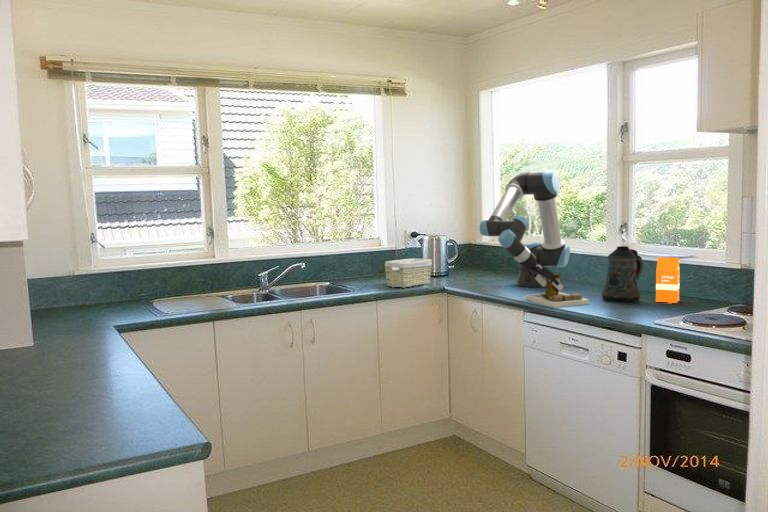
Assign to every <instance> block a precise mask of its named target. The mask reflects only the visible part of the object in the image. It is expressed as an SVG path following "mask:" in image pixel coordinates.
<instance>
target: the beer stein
mask: <svg viewBox="0 0 768 512" xmlns="http://www.w3.org/2000/svg"><path fill="white" fill-rule="evenodd" d="M607 260H608V266H607V273H606V279H605V281H604V282H605V284H604V287H603V289H602V291H601V296H602V300H603V301H604V302H607V303H619V304H620V303H621V304H622V303H623V304H626V303H633V304H636V303H635V302H638V301H639V302H640V297H641V293H640V291H639V290H640V289H639V287H638V286H639V285H638V280H639V279H640V277H641V275H642V273H643V270H644V261H643V259H642V256H640V255H638V251H637V250H636V249H632V248H629V246H625V245H623V246H617V247H616V249H614V251H612V252H611V253H609V255H607ZM639 302H638V303H639Z"/></svg>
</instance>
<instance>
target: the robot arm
mask: <svg viewBox="0 0 768 512" xmlns="http://www.w3.org/2000/svg"><path fill="white" fill-rule="evenodd" d="M560 190H561V180H560V177H559V175H558V173H557V172H555V171H553V170H540V171H539V170H537V171H536V170H535V171H524V172H522V173H519V174H517V175H516V176H514V177H513V178H512V179H510V181H509V182H508V183H507V184H506V186H505V188H504V193H503V195H502V197H501V198H500V200H499V202H498V203H497V205H496V207H495V208H494V210H493V212H492V213H491V215H490V216H489V218H488V219H486V220H482V221H480V223H479V233H480V235H481V236H483V237H497V241H498V243H499V244H500V245H501V246H502V248H503V249H504V250H506V251H507V253H509V254H510V255H511V257H513V259H514V261H515V262H517V263H519V272H518V276H517V279H516V286H517V285H518V287H522V286H523V287H526V288H537V287H539V286H540V287H543V288H544V287H545V288H546V281H547V279H549V280H550V281H551V282H550V283H552V284H553V285H554V286H555V287H556V288H557V289H558V290H559V292H561V291H562V290H563V289H564V285H563V284H562V283H561V281H560V282H559V281H558V280H557V279H556V278H557V276H555V275H554V274H553V273H552V272H553V271H550V270H549V269H548V268H565V267H566V266H567V265H568V263H569V260H570V255H571V248H570V246H569V245H568V244H566V243H565V240H564V239H562V237H561V236H562V235H561V229H560V224H559V218H558V217H559V216H558V210H557V203H556V198H557V197H558V194H559V193H560ZM526 195H528V196H529V195H531V196H533V199H534V200H535V201H536V202H537V205H538V212H539V216H540V217H539V218H540V220H541V221H540V223H541V228H542V235H543V242H541V241H537V242H529V243H523V242H522V239H523V237H524V235H525V233H526V232H527V229H528V224H529V222H528V220H527V218H526V217H525V216H523V215H516V216H514V217H513V218H512V219H511V220H507V219H508V218H509V216H510V214H511V213H512V211H513V209H514V208H515V206H516V205H517V203H518V201H519V200H520V199H521V198H523V196H526ZM546 267H548V268H546ZM545 278H546V280H545Z"/></svg>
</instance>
